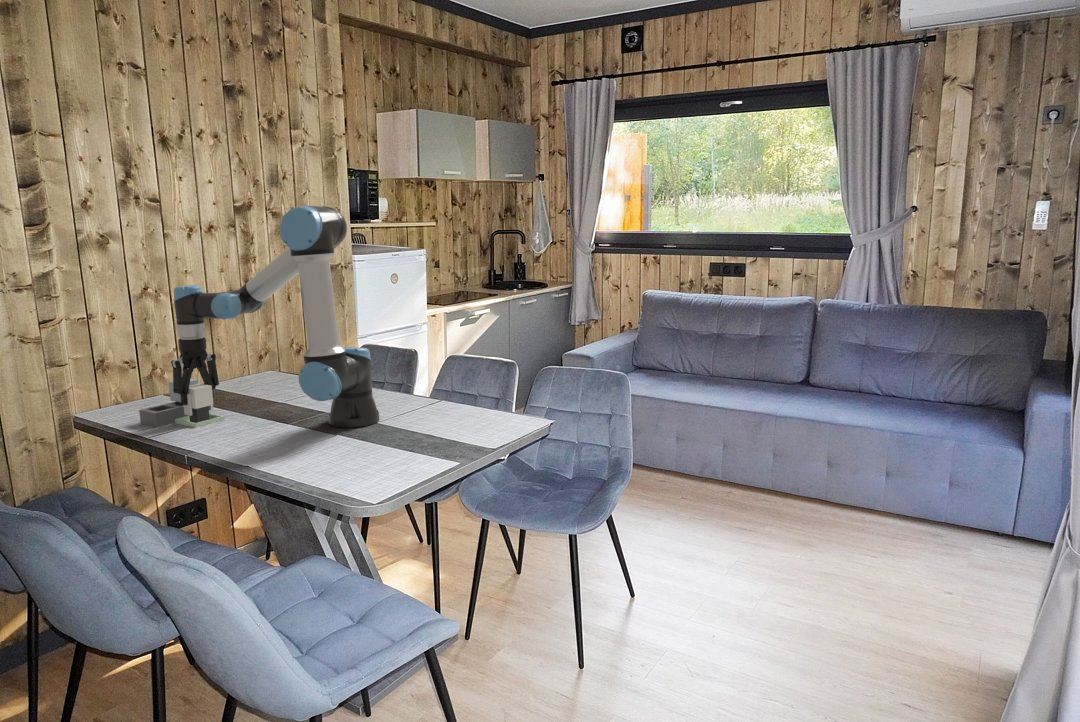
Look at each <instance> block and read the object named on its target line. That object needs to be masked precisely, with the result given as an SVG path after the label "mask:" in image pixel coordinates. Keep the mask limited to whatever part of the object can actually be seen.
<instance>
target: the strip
mask: <svg viewBox="0 0 1080 722" xmlns="http://www.w3.org/2000/svg"><path fill="white" fill-rule="evenodd" d="M195 384H199V379H195V378H191V379H190V384H189V386H190V385H195ZM168 389H169V399H170V401H172V402H169V403H168V402H167V403H164V404H159V405H154V406H151V407H147V408H143V409H139V410H138V413H139V420H140V425H142V426H147V427H152V428H156V429H157V428H158V429H159V428H161V427H166V426H170V425H172V424H175V419H179V418H183V417H187V416H189V415H185V413H184V407H183V405H182V404H181V396H180V394H178V393H174V392H173V380H169V381H168Z"/></svg>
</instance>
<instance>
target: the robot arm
mask: <svg viewBox="0 0 1080 722" xmlns="http://www.w3.org/2000/svg"><path fill="white" fill-rule="evenodd" d="M279 224H280V225H279V234H280V238H281V241H282V243H284V244H285V245H286V246H287V248H286V249H284V250H283V252H281V253H280V254H279V255H278V256H277V257H275V258H274V259H273V260H272V261H270V262H269V263H268V264H267V265H266V266H264V267H263V268H262V269H261V270H260V271H259V272H258V273H257V274H255V275H254V276H253V277H252V278H250V279H249V280H248V281H247V282H246V283H245V284H243V285H242V286H241V287H240V288H238V289H233V290H228V291H222V292H203V291H202V288H201V286H200V285H195V284H194V285H193V284H189V285H178V286H175V287H174V288H173V304H174V309H175V310H174V311H175V318H176V320H175V321H176V329H177V330H176V331H177V338H178V340H177V342H178V350H179V352H180V355H179V358H177V359H175V360H174V359H172V360H170V364H171V367H172V381H173V392H174V393H178V394H180V396H181V404H182V405H184V413H185V415H189V416H191V415H192V405H191V395H190V394H188V389H189V384H190V379H192V374H193V372H194V370H195V369H197V370H198V372H199V374H200V377H201V379H202V381H203V384H205V385H211V386H212V394H213V399H215V394H214V393H215V392H214V390H215V389H216V387H217V386H219V384H220V382H219V376H218V371H217V370H218V369H217V364H216V359H217V356H216V354H215V353H208V352H207V338H206V337H205V336H206V327H205V326H206V325H205V319H216V320H217V319H218V320H219V319H221V320H230V319H232V320H233V319H235V318H237V317H238V316H240V315H245V314H252V313H256V312H257V311H260V310H261V309H262V308H263V307H264V305H265V302H266V300H268V299H269V298H271V296H272V295H274V294H276V292H278V291H279V290H280V289H282V288H283V286H285V285H286V284H287V283H289V282H291V280H292V279H293V278H295V277H296V276H297V275H298V277H299V284H300V292H301V299H302V309H303V315H304V325H305V331H306V332H305V333H306V339H307V349H306V350H305V351H304V352H303V362H304V365H303V366H302V367H301V369H300V370H299V372H298V384H299V386H300V388H301V391H302V392H303V393H304V394H305V395H307V397H309V398H310V399H311V400H315V401H318V402H327V401H329V400H331V401H332V402H331V405H330V412H329V414H328V424H329V425H330V426H332V427H337V428H359V427H366V426H367V427H368V426H370V425H373V424H377V422H380V411H379V409H377V405H376V402H375V399H374V397H373V384H372V383H373V382H372V381H373V380H372V359H371V352H370V350H369V349H368V348H366V347H356V346H353V347H351V346H342V345H341V344H340V336H339V330H338V324H337V323H338V322H337V313H336V304H335V297H334V295H335V294H334V287H333V280H332V279H333V278H332V271H331V269H332V268H331V263H330V262H331V261H330V260H332V257H334V255H335V249H336V248H337V247H338V246H339V245H341V243H343V241H344V240H345V238H346V236H347V232H348V230H347V229H348V226H347V225H348V224H347V221H346V218H345V217H344V216H343V214H342V213H341V212H340V211H339V210H338V209H336V208H334V207H331V206H324V205H323V206H314V205H301V206H295V207H292V208H291V209H289V210H288V211H286V213H285V214H284V215H283V216H282V218H281V221H280V223H279ZM209 411H214V404H213V405H210V406H209Z"/></svg>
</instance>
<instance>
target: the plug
mask: <svg viewBox="0 0 1080 722" xmlns="http://www.w3.org/2000/svg"><path fill="white" fill-rule="evenodd" d="M188 394H190V395H191V405H192V415H191V416H189V417H190V422H193V423H198V422H202V421H206V420H209V419H210V416H209V413H210V410H209V406H210V405H213V406H214V398H213V394H212V386H211V385H205V384H204V383H198V384H195V385H190V386H189V389H188ZM183 407H184V405H183Z"/></svg>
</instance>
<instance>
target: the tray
mask: <svg viewBox="0 0 1080 722" xmlns="http://www.w3.org/2000/svg"><path fill="white" fill-rule="evenodd" d="M209 416H210V419H209V420H206V421H202V422H198V423H193V422H190V417H189V416H187V417H183V418H179V419H175V423H174V424H176V425H180V426H186V427H190V428H195V429H197V428H200V427H204V426H208V425H212V424H215V423H216V424H217V423H219V422H223V421H226V420H225V419H226V418H225V415H220V414H216V413H210V412H209Z"/></svg>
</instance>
